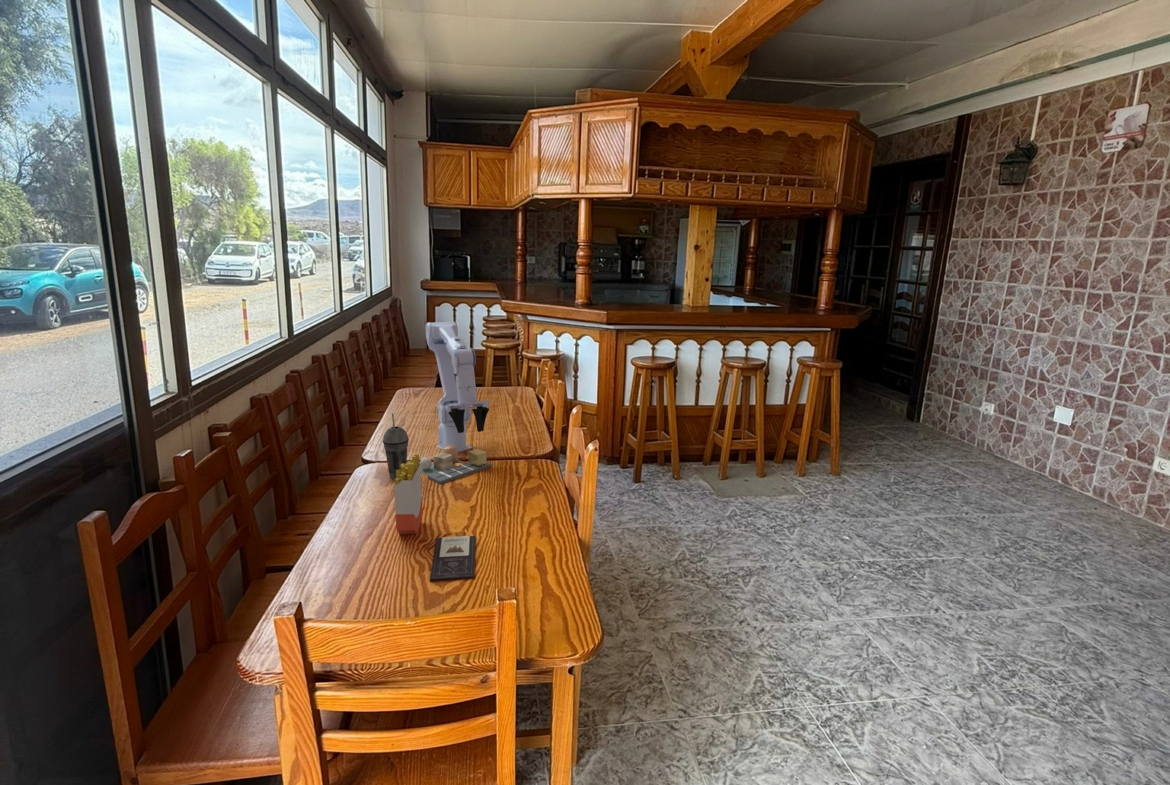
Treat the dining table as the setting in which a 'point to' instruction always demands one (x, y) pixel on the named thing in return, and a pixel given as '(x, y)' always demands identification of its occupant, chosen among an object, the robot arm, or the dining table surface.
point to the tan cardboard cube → (477, 457)
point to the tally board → (457, 472)
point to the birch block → (442, 461)
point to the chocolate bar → (453, 558)
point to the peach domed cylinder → (451, 452)
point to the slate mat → (432, 470)
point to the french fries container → (408, 497)
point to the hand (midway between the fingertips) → (470, 432)
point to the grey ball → (425, 463)
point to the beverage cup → (395, 448)
